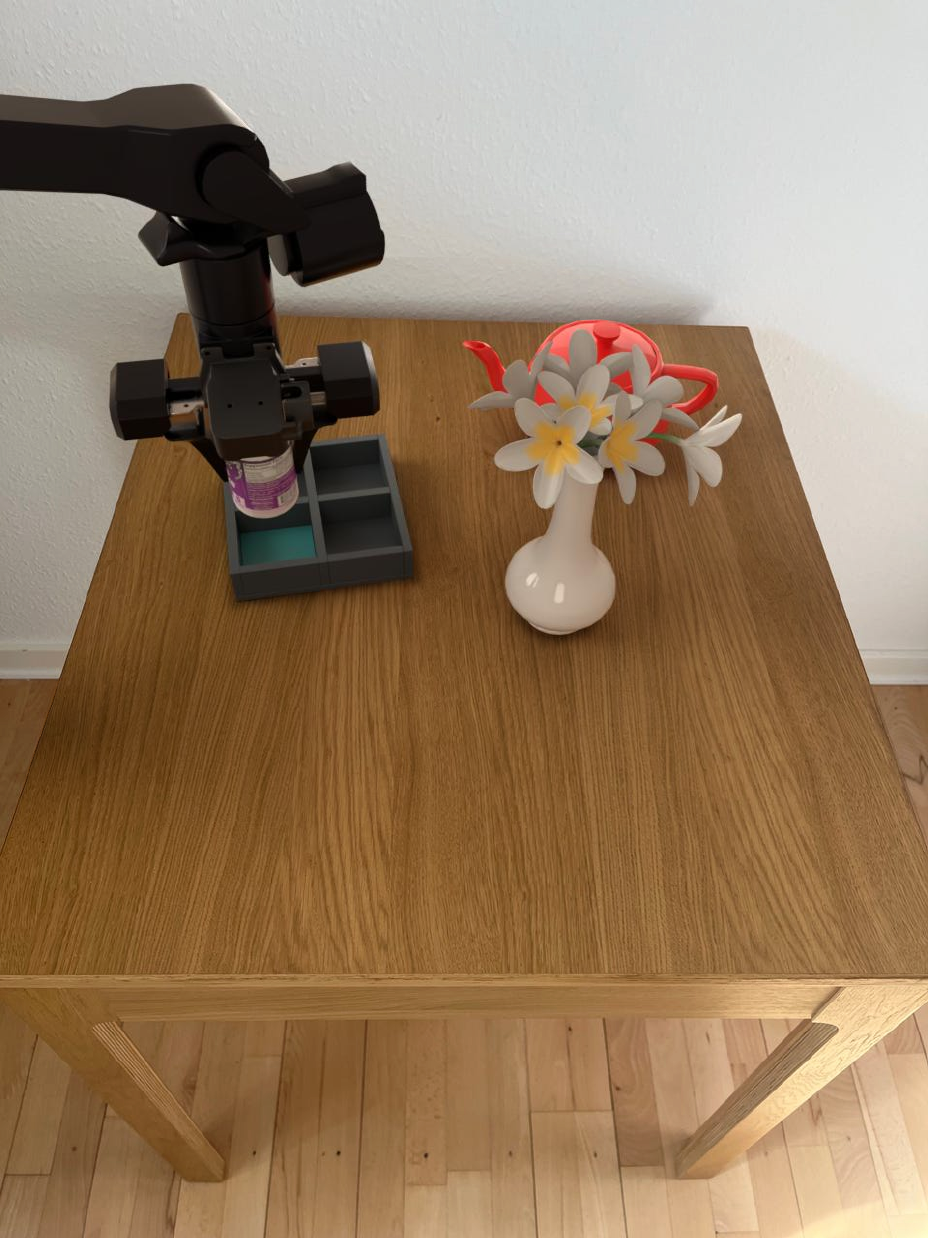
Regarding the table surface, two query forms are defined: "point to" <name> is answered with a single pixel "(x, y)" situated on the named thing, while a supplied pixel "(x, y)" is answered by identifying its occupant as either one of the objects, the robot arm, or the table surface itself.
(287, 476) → the pill bottle
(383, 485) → the compartment tray
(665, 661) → the table surface
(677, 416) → the flower vase
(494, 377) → the teapot
